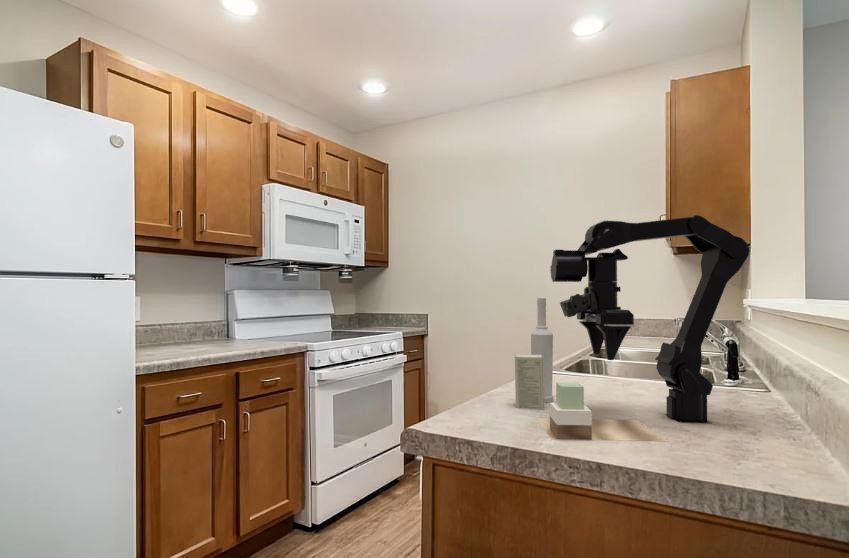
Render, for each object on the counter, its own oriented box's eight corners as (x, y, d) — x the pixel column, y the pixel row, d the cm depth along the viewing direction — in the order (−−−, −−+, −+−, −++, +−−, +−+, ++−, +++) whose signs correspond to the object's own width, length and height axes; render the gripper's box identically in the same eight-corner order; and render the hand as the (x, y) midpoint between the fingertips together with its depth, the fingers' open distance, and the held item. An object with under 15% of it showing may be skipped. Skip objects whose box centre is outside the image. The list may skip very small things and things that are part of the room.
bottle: (531, 405, 111) (531, 298, 112) (530, 400, 117) (529, 298, 117) (554, 406, 111) (553, 298, 111) (552, 401, 116) (551, 298, 116)
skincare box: (543, 407, 109) (543, 354, 110) (543, 412, 105) (543, 357, 105) (515, 406, 111) (515, 353, 111) (514, 410, 106) (514, 356, 107)
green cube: (578, 404, 89) (577, 382, 89) (583, 409, 85) (583, 386, 85) (556, 403, 89) (556, 382, 89) (561, 409, 85) (560, 386, 85)
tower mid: (582, 416, 90) (582, 403, 90) (591, 425, 84) (591, 411, 84) (549, 415, 90) (549, 402, 90) (556, 424, 84) (556, 410, 84)
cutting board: (636, 422, 97) (636, 419, 97) (668, 444, 83) (668, 441, 83) (537, 421, 98) (537, 418, 98) (551, 442, 84) (551, 438, 84)
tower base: (582, 429, 89) (582, 416, 90) (591, 439, 83) (591, 425, 84) (550, 429, 90) (549, 415, 90) (556, 439, 84) (556, 424, 84)
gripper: (554, 282, 110) (554, 351, 109) (574, 280, 91) (575, 363, 91) (603, 283, 109) (603, 351, 108) (634, 281, 90) (635, 363, 90)
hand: (603, 356), depth 99 cm, fingers open, 9 cm apart
